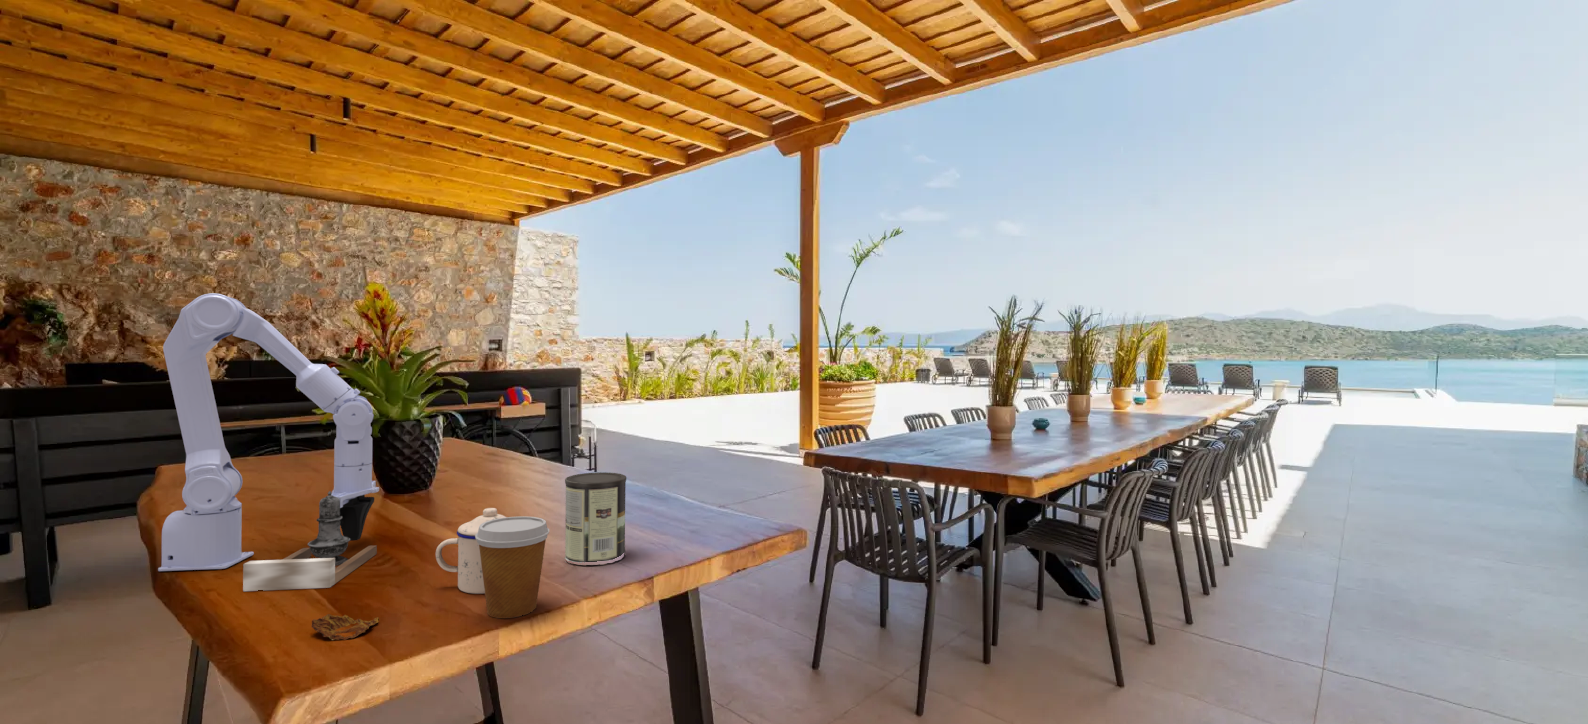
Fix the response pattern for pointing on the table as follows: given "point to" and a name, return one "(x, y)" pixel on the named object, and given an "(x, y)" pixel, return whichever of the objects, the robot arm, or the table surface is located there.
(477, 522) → the teacup with lid
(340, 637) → the leaf
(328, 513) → the grey stone finial
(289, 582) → the guide channel
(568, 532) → the coffee can
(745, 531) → the table surface
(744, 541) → the table surface
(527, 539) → the disposable coffee cup
